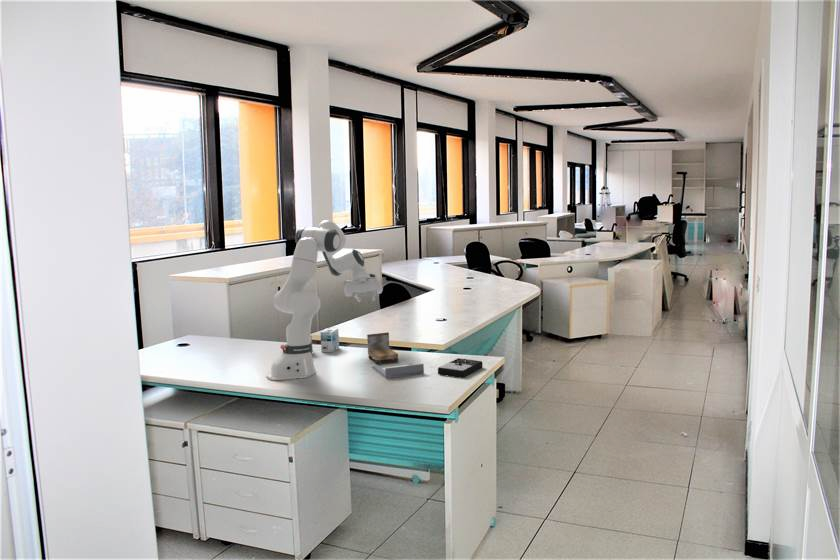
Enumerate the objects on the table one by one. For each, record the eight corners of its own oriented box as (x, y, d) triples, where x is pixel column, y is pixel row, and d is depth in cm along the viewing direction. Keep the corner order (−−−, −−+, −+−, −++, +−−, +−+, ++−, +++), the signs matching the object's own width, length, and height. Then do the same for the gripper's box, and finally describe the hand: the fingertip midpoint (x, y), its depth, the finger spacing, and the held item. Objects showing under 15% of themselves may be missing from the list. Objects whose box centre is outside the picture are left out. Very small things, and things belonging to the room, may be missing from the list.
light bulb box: (333, 352, 358) (332, 332, 356) (320, 352, 359) (319, 332, 358) (339, 347, 368) (338, 328, 367) (327, 347, 370) (326, 327, 368)
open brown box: (376, 365, 329) (375, 340, 328) (367, 358, 342) (366, 334, 341) (398, 362, 333) (397, 337, 332) (389, 355, 346) (388, 332, 345)
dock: (386, 380, 305) (385, 368, 304) (370, 368, 327) (370, 357, 326) (423, 375, 311) (423, 364, 311) (406, 364, 333) (405, 353, 332)
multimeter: (482, 368, 318) (482, 358, 318) (463, 379, 302) (462, 368, 302) (458, 365, 325) (458, 355, 325) (437, 375, 309) (437, 364, 308)
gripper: (342, 277, 358) (348, 298, 351) (379, 274, 366) (386, 295, 358) (340, 285, 363) (346, 305, 355) (377, 281, 370) (383, 302, 363)
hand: (366, 300), depth 357 cm, fingers open, 6 cm apart
